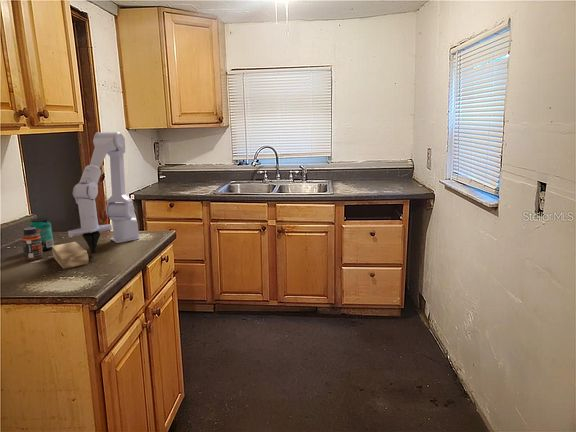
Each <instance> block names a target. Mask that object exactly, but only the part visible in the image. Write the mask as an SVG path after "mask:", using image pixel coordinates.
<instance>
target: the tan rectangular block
mask: <svg viewBox="0 0 576 432" xmlns="http://www.w3.org/2000/svg"><path fill="white" fill-rule="evenodd" d="M51 250H52V258H53V259H54V260H55V261H56V262H57V263H58V264H59V265H60V267H62V269H64V270H65V269H69V268H73V267H78V266H82V265H88V264H89V260H88V258H89V255H88V256H87V254H88V251H87V249H85V248H83V246H81V245H80V244H79V243H77V242H76V241H72V242H67V243H61V244H54V246H52V249H51Z"/></svg>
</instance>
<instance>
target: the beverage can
mask: <svg viewBox="0 0 576 432" xmlns="http://www.w3.org/2000/svg"><path fill="white" fill-rule="evenodd" d="M29 227H36V230H37V232H38V233H39V234H40V237H41V243H42V250H43V252H46V251H51V250H52V246H54V245H55V243H54V237H53V230H52V229H53V228H52V223H51V221H49V218H48V217H39V218H34V219H31V220H30V224H29Z"/></svg>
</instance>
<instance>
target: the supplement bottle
mask: <svg viewBox="0 0 576 432" xmlns="http://www.w3.org/2000/svg"><path fill="white" fill-rule="evenodd" d="M21 244H22V249H23V257H24V260H26V261H35V260H40V259H41V258H43V257H44V251H43V250H42V243H41V237H40V234H39V233H38V232H37V230H36V227H30V226H29V227H25V228H23V234H22V235H21Z"/></svg>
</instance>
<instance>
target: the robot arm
mask: <svg viewBox="0 0 576 432" xmlns="http://www.w3.org/2000/svg"><path fill="white" fill-rule="evenodd" d="M92 142H93V146H94V149H93V152H92V156H91V159H90V163H89V164H88V165H86V166H85V167H84V169H83V172H82V175H81V177H80V180H79V182H78V183H77V184H75V185H74V186H73V188H72V196H73V198H74V199H75V204H77V205H78V213H79V221H80V228H77V229H72V230H67V234H68V237H69V238H74V237H77V236H82V237H83V239H84V240H85V242H86V244H87V246H88V247H89V251H90V253H91V254H94V253H97V246H98V243H99V239H100V237H101V233H100V232H105V231H112V234H113V237H111V238H110V240H111V241H113V242H115V243H116V244H119V243H125V242H129V241H135V240H140V239H141V238H140V233H139V225H138V220H137V218H136V217H134V216H135V215H134V214H135V206H134V204H133V199H132V198H131V197H129V196H128V195H127V194H126V180H125V179H126V176H125V159H124V157H125V156H124V155H125V153H126V138H125V137H124V135H123V134H122V133H121V132H120V131H113V132H109V131H108V132H107V131H106V132H104V131H103V132H100V131H96V132H95V134H94V135H93V140H92ZM107 155H108V157H109V162H110V163H109V165H110V167H109V169H110V180H111V181H110V185H111V196H110V197H109V198H108V199H106V207H105V214H106V216H107V217H108V218H109V220H111V223H110V224H100V225H99V220H98V211H97V204H96V198H97V197H98V194H99V190H98V189H99V185H98V183H99V181H100V177H101V175H102V170H101V166H102V164H103V162H104V160H105V158H106V157H107Z"/></svg>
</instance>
